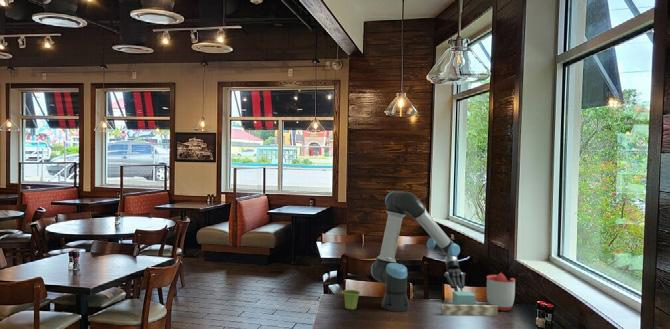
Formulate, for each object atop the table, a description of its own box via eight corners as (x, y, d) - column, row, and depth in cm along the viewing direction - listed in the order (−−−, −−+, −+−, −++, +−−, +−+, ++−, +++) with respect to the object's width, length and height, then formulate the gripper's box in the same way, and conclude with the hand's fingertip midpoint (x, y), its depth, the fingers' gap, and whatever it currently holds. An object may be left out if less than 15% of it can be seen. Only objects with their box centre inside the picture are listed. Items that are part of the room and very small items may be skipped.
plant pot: (352, 304, 252) (353, 289, 253) (362, 309, 244) (363, 293, 245) (339, 306, 247) (339, 291, 247) (348, 311, 239) (349, 295, 240)
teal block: (456, 311, 246) (457, 295, 246) (452, 307, 254) (452, 291, 254) (474, 311, 247) (475, 295, 247) (469, 307, 255) (470, 291, 255)
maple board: (442, 315, 239) (442, 305, 239) (441, 313, 241) (441, 304, 241) (497, 315, 241) (497, 306, 241) (496, 314, 243) (496, 305, 243)
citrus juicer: (521, 308, 255) (522, 273, 255) (505, 314, 244) (506, 277, 244) (496, 301, 267) (497, 268, 267) (480, 306, 256) (481, 271, 256)
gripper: (460, 267, 276) (469, 302, 260) (440, 266, 276) (447, 302, 259) (464, 260, 271) (473, 295, 254) (443, 259, 270) (450, 295, 254)
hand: (460, 298), depth 257 cm, fingers closed
